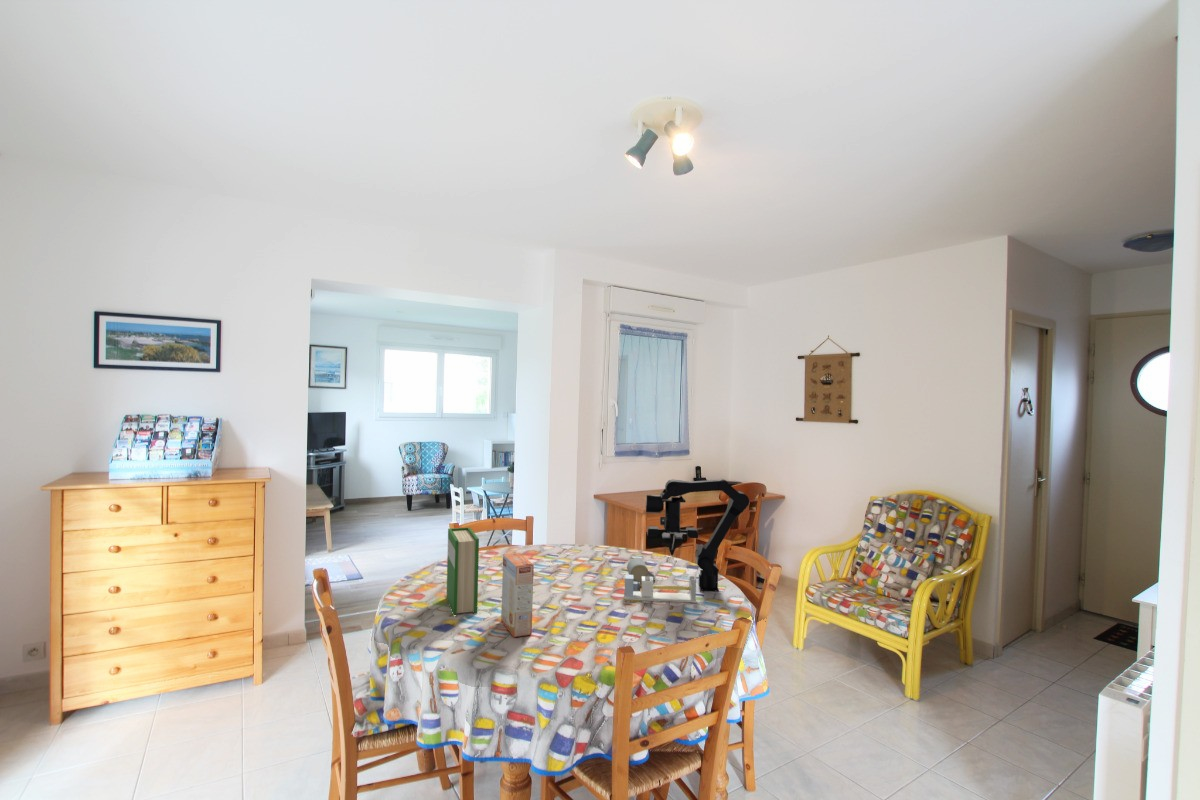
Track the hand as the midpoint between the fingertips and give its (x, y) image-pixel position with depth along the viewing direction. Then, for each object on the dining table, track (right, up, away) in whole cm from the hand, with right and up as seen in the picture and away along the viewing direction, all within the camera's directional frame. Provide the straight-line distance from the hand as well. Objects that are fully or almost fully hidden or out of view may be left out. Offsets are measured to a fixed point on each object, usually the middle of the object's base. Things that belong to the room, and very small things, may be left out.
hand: (671, 554), depth 204 cm
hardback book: (-74, -11, -23) cm, 78 cm away
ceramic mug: (-11, -12, +8) cm, 18 cm away
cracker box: (-52, -11, -40) cm, 67 cm away
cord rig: (-6, -12, -12) cm, 18 cm away
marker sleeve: (-10, -11, -12) cm, 19 cm away
